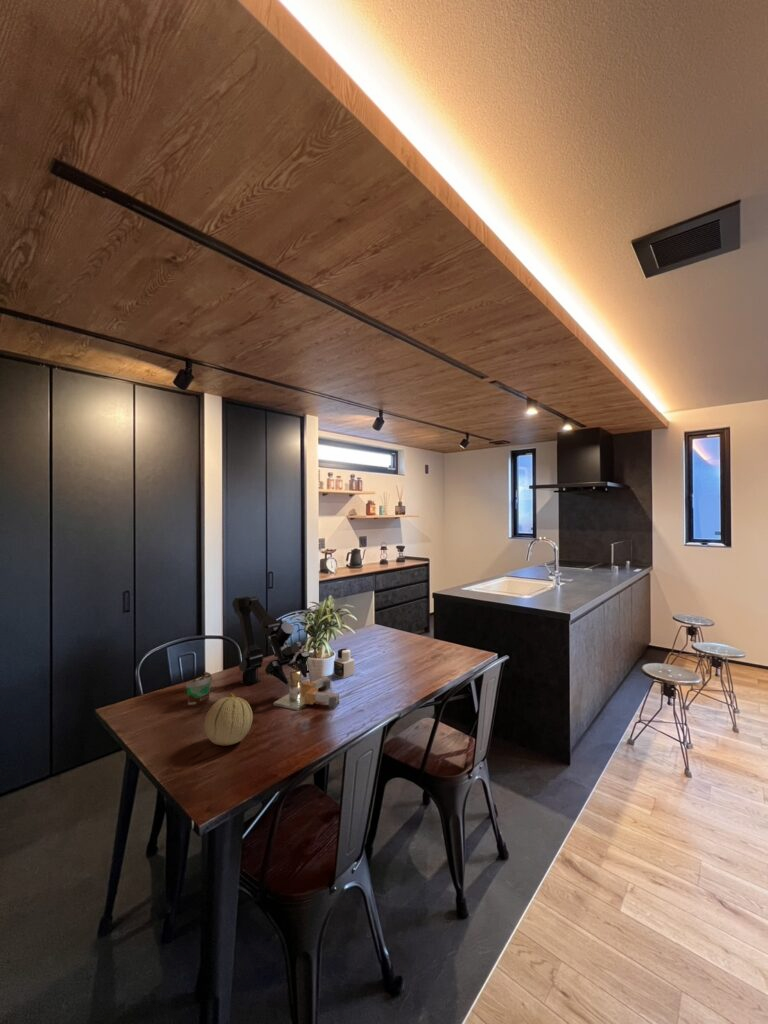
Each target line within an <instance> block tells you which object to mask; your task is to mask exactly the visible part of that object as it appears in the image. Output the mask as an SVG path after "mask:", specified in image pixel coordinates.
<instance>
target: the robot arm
mask: <svg viewBox="0 0 768 1024" xmlns="http://www.w3.org/2000/svg"><path fill="white" fill-rule="evenodd" d="M231 604H232V608H233V611H234V613H235V614H236V616H238V617H239V623H240V627H241V634H242V635H241V636H242V639H243V645H244V650H243V653H242V656H241V657H242V660H241V661H240V663H239V665H238V667H239V671H240V672H242V681H240V684H241V685H246V686H253V685H255V684H256V683H258V682H261V681H262V680H261V679H260V678H259V668H262V665H263V662H264V655H263V651H262V648H261V647H258V646H257V643H256V638H255V633H254V628H253V623H252V617H251V612H252V614H253V616H254V617H255V618H256V620H257V621H258V623H259V624H260V626H259V627H260V628H259V629H260V631H261V634H262V635H263V637H265V638H268V637H271V638H269V639H268V643H267V645H268V646H269V647H270V646H271V647H272V649H273V651H274V655H273V656H274V657H275V658H277V659H274V660H270V661H269V662H268V664H267V665H266V667H265V674H266V675H267V676H269V675H270V677H271V676H273V677H275V678H276V679H278V680H280V681H281V682H283V684H285V685H288V684H289V681H288V678H287V677H286V674H285V672H284V670H283V667H284V666H288V665H292V664H291V663H294V662H295V663H296V664H297V668H296V669H297V670H300V671H301V676H303V678H305V679H306V678H307V677H308V674H307V673H308V672H306V665H307V664H306V661H307V659H309V657H310V653H309V652H308V651H307V650H304V651H300V650H302V648H303V645H302V643H301V641H296V642H294V644H291V645H290V644H287V641H288V640H289V639H290V637H291V636H292V634H293V633H294V631H295V627H294V625H293V624H292V623H290V622H288V621H287V620H281V622H279V621H278V620H277V619H276V618H274V617H272V616H270V615H269V613H268V612H267V611H266V609H265V607H264V606H263V604H261V602H260V599H259V597H258V596H250V595H249V596H247V595H246V596H241V597H240V596H239V597H235V598H234V600H232V603H231ZM297 653H298V654H297ZM296 654H297V655H296Z"/></svg>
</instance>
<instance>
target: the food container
mask: <svg viewBox="0 0 768 1024" xmlns="http://www.w3.org/2000/svg"><path fill="white" fill-rule="evenodd" d="M212 681H213V676H212V674H211V673H210V672H207V671H205V672H204V674H202V675H201V676H198V677H196V678H194V679H193V680H192V681H186V684H185V688H186V693H187V705H188V707H197V706H201V705H205V704H207V703H208V702H209V701H210V692H211V691H210V689H211V682H212Z"/></svg>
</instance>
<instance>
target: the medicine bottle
mask: <svg viewBox="0 0 768 1024" xmlns="http://www.w3.org/2000/svg"><path fill="white" fill-rule="evenodd" d="M334 660H335V661H334ZM334 660H333V676H335V675H336V676H335V677H338V676H339V677H338V678H341V679H346V677H347V678H349V677H352V676H354V675H355V673H356V672H355V659H353V658H351V649H350V648H341V649H338V650H337V659H334ZM353 674H354V675H353ZM351 675H352V676H351ZM348 676H349V677H348Z"/></svg>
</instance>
